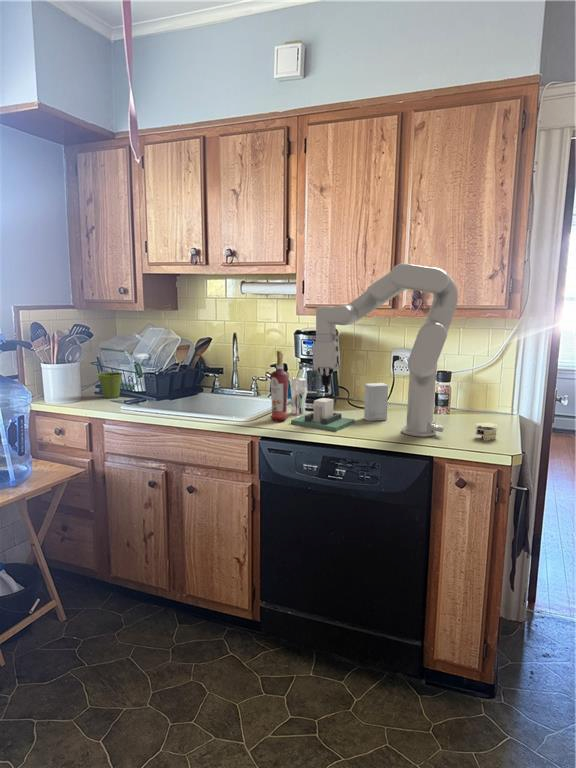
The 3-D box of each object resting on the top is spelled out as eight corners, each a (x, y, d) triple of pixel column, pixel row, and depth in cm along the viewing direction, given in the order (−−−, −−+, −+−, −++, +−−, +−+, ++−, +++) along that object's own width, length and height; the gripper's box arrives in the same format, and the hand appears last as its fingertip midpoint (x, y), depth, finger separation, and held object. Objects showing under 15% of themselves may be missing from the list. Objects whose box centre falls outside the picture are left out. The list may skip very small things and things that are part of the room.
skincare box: (381, 417, 220) (383, 382, 218) (387, 420, 215) (389, 384, 212) (362, 417, 219) (364, 382, 216) (367, 421, 213) (369, 385, 210)
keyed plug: (332, 418, 210) (333, 399, 208) (322, 423, 202) (323, 402, 201) (322, 417, 212) (322, 397, 211) (311, 421, 205) (311, 401, 204)
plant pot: (116, 393, 261) (115, 371, 259) (128, 397, 253) (127, 374, 251) (93, 396, 253) (92, 373, 251) (105, 400, 244) (104, 376, 242)
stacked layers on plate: (484, 434, 197) (485, 420, 196) (504, 440, 189) (506, 425, 188) (466, 438, 192) (467, 423, 191) (486, 444, 184) (487, 429, 183)
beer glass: (288, 412, 227) (288, 377, 224) (302, 411, 229) (303, 377, 227) (293, 415, 220) (294, 380, 218) (309, 414, 223) (310, 379, 220)
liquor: (291, 420, 213) (293, 351, 208) (280, 423, 207) (281, 352, 202) (278, 417, 217) (278, 349, 213) (266, 420, 212) (266, 351, 207)
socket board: (354, 423, 210) (355, 414, 209) (336, 431, 196) (336, 422, 196) (311, 416, 220) (311, 407, 220) (291, 423, 207) (291, 415, 206)
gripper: (347, 338, 201) (347, 385, 204) (313, 337, 209) (314, 382, 212) (338, 339, 195) (338, 388, 198) (304, 338, 203) (304, 385, 206)
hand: (326, 385), depth 205 cm, fingers closed
